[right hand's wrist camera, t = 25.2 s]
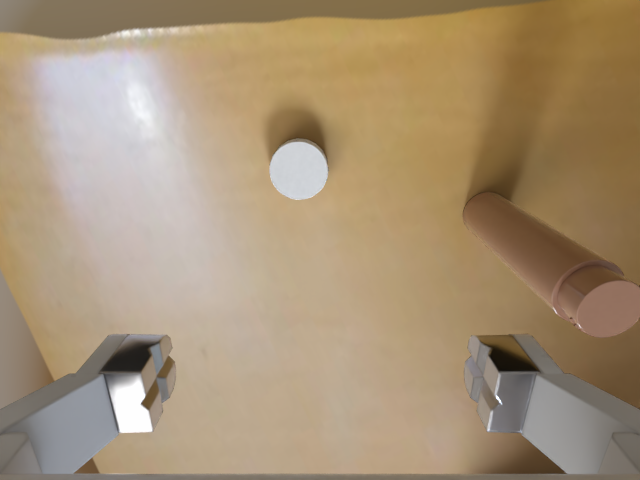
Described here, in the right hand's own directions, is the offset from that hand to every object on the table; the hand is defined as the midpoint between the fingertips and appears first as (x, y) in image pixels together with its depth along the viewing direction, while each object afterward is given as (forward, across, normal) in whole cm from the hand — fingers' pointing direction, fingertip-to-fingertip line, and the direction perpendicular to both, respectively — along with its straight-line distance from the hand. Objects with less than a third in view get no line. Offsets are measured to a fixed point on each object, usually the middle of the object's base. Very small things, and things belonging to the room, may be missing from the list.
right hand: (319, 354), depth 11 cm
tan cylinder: (+30, +17, -5) cm, 34 cm away
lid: (+28, -2, 0) cm, 28 cm away
